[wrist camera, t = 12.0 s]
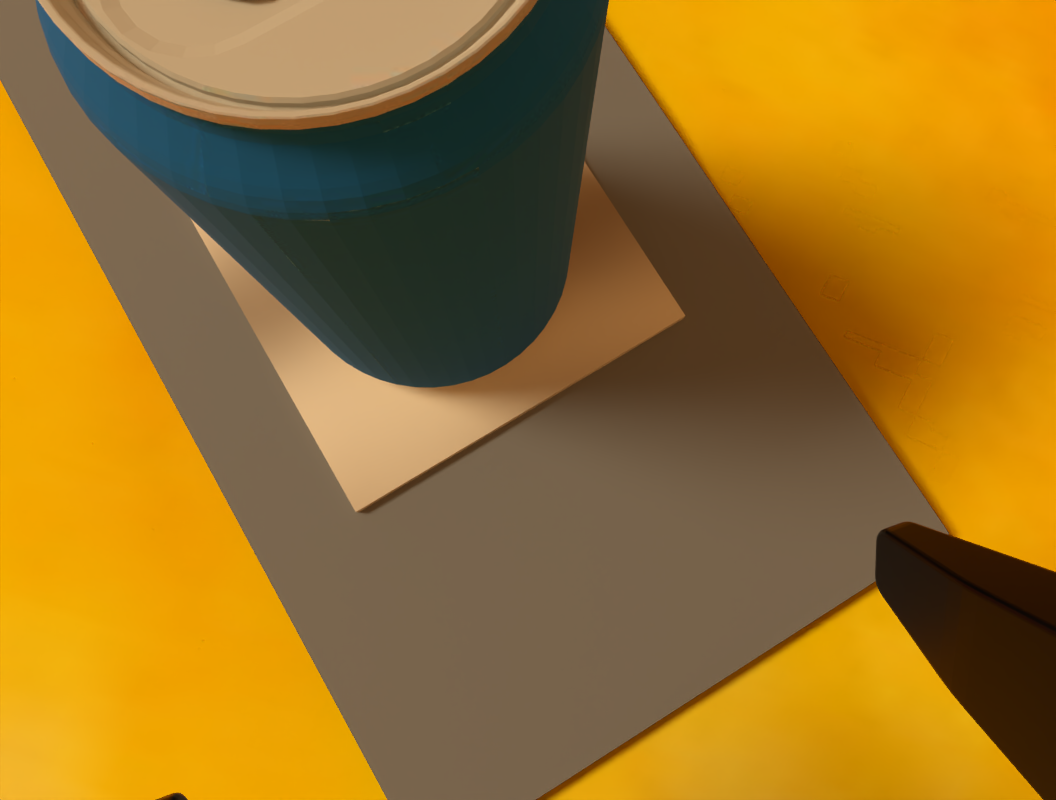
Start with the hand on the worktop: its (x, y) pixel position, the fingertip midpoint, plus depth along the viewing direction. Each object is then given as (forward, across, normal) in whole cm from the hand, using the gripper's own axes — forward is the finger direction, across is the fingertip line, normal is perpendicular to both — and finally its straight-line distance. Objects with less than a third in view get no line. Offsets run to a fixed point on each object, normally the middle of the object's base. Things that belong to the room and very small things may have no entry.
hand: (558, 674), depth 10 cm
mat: (+13, -1, -1) cm, 13 cm away
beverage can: (+12, -1, -1) cm, 12 cm away
